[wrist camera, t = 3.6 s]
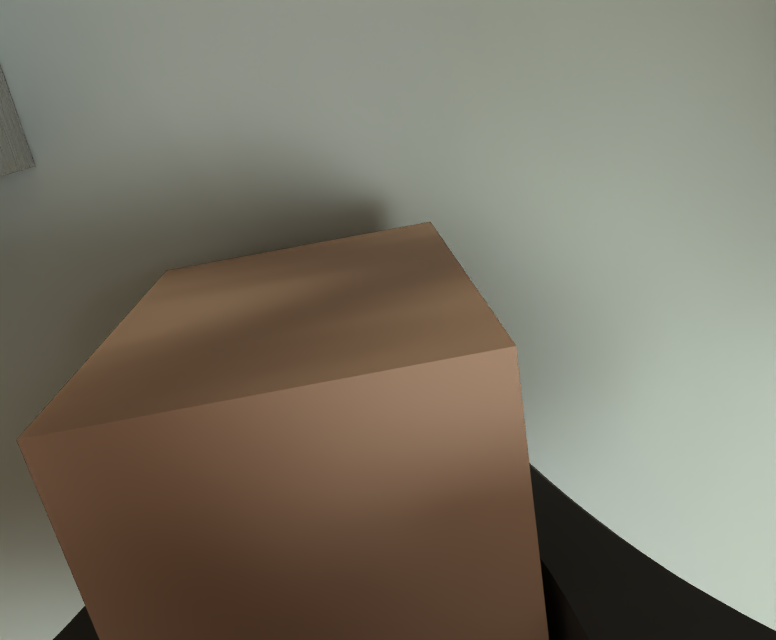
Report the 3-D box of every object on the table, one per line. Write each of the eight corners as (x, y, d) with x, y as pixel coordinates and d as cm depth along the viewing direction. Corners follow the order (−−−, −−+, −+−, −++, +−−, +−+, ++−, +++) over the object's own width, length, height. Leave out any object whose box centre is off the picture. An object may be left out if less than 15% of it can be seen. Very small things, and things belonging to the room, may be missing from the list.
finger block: (430, 221, 10) (516, 345, 5) (492, 634, 13) (584, 955, 8) (166, 270, 10) (15, 439, 5) (286, 674, 13) (258, 1021, 8)
